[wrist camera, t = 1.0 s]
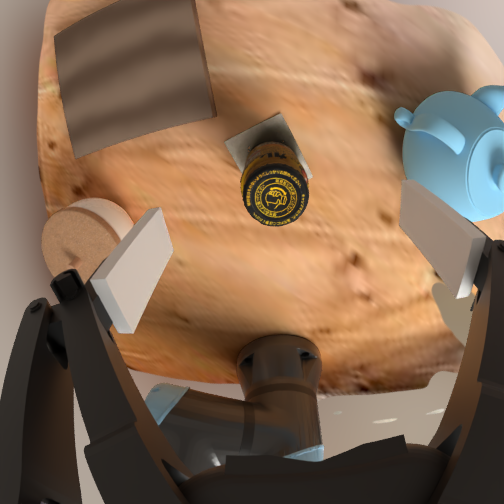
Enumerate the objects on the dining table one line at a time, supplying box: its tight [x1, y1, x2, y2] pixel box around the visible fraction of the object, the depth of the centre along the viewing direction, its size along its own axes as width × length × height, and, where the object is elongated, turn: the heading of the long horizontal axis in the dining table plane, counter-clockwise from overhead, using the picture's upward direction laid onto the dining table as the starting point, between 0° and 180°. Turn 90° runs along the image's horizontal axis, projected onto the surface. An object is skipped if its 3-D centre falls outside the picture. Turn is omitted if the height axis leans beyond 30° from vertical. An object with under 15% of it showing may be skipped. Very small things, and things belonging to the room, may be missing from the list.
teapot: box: [394, 85, 504, 222], centre depth 23 cm, size 16×20×14 cm
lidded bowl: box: [41, 198, 134, 284], centre depth 32 cm, size 13×13×11 cm
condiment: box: [224, 113, 313, 226], centre depth 27 cm, size 7×8×12 cm
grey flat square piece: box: [54, 0, 217, 159], centre depth 25 cm, size 18×18×3 cm
